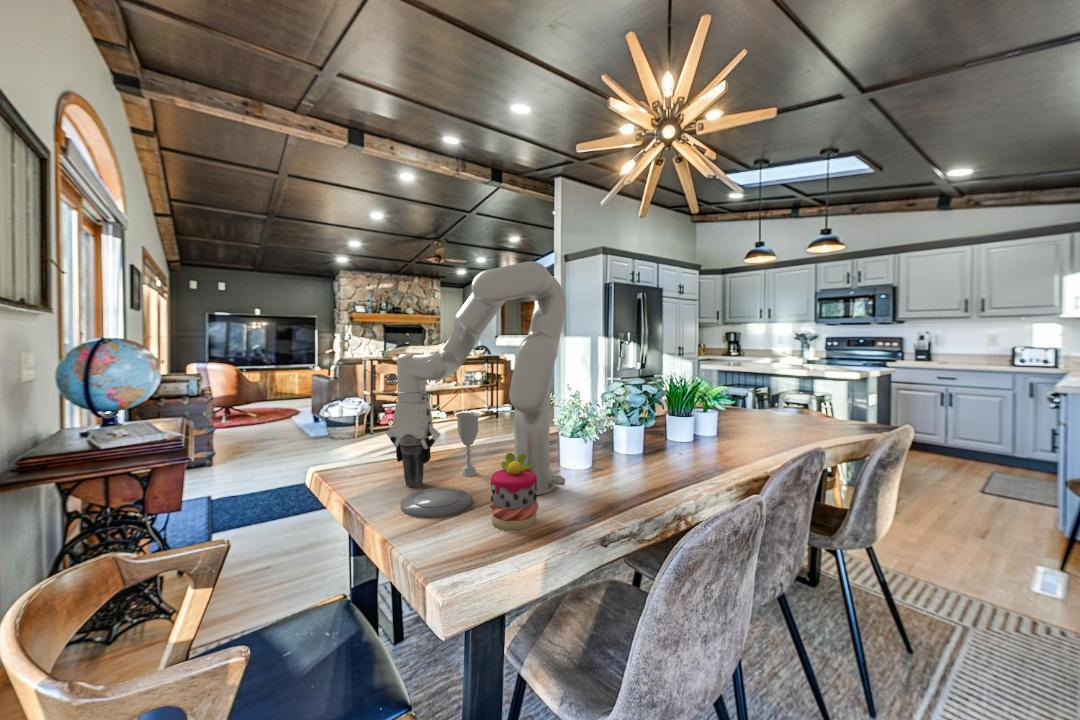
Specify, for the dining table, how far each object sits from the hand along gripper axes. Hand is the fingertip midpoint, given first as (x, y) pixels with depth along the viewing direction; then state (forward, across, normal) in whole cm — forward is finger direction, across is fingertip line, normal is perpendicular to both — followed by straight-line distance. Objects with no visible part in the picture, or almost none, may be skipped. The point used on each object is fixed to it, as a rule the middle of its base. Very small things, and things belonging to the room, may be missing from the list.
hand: (413, 460), depth 129 cm
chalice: (+7, -11, -13) cm, 18 cm away
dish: (+7, -13, +12) cm, 19 cm away
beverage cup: (+7, 0, 0) cm, 7 cm away
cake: (+7, -35, +18) cm, 40 cm away
